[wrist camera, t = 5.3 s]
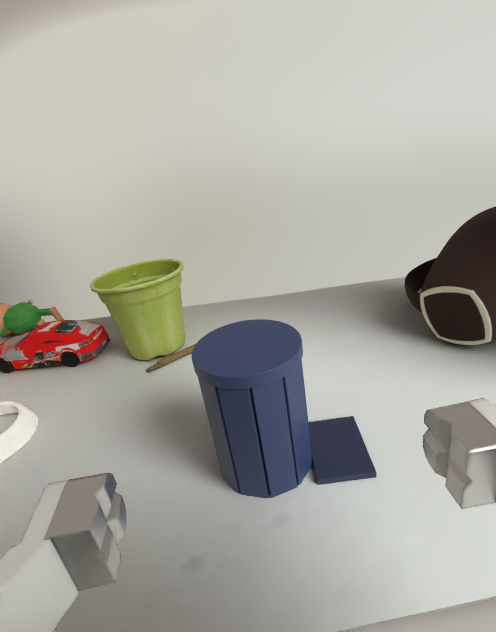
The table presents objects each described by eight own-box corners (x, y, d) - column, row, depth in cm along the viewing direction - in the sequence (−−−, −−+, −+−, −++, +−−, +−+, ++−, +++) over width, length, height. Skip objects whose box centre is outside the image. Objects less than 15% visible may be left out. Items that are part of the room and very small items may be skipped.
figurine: (42, 349, 49) (-27, 350, 53) (72, 312, 54) (7, 316, 58) (21, 322, 46) (-51, 325, 50) (54, 286, 51) (-13, 292, 55)
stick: (148, 373, 39) (146, 368, 38) (146, 371, 39) (144, 365, 39) (208, 345, 42) (207, 340, 42) (205, 343, 42) (204, 338, 42)
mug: (498, 257, 27) (567, 189, 32) (354, 274, 39) (420, 222, 44) (535, 371, 30) (594, 292, 35) (389, 354, 42) (448, 297, 47)
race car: (-14, 376, 43) (-30, 345, 42) (17, 351, 48) (3, 322, 46) (96, 366, 41) (84, 333, 40) (116, 341, 46) (106, 310, 45)
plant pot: (161, 376, 37) (137, 290, 34) (96, 363, 42) (69, 287, 39) (216, 332, 44) (200, 258, 41) (155, 326, 49) (137, 259, 46)
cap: (217, 506, 24) (185, 384, 20) (221, 432, 29) (196, 327, 26) (379, 485, 23) (378, 357, 19) (351, 414, 29) (346, 305, 25)
